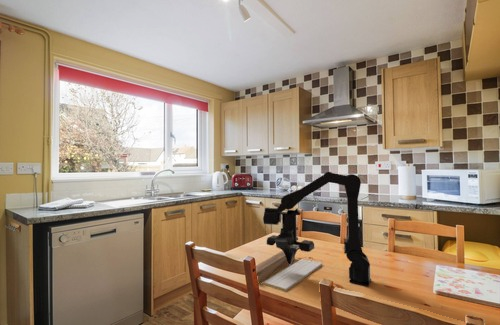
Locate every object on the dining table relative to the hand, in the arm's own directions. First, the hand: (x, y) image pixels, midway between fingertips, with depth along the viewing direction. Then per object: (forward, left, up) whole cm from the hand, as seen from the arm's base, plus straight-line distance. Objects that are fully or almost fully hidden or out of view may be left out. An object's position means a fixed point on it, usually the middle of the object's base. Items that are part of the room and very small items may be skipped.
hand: (290, 264), depth 104 cm
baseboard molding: (0, -1, -4) cm, 5 cm away
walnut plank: (+9, -2, -4) cm, 9 cm away
